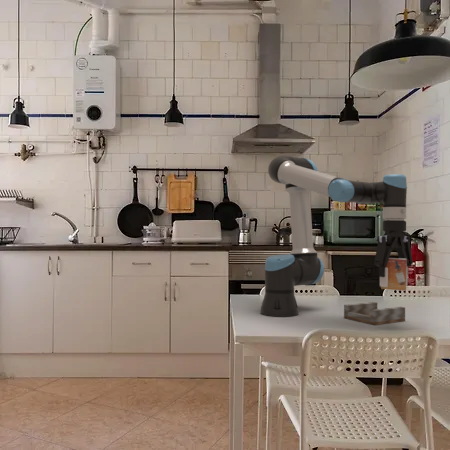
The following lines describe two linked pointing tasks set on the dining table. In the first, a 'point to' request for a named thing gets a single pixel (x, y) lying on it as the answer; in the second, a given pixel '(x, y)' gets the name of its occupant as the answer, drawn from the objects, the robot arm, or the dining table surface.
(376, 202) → the robot arm
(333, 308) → the dining table surface
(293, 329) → the dining table surface
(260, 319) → the dining table surface
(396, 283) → the small box
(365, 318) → the cradle
